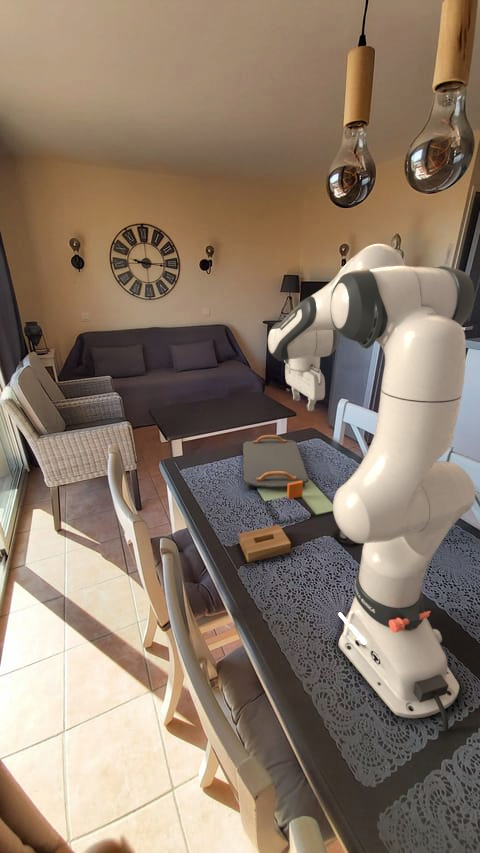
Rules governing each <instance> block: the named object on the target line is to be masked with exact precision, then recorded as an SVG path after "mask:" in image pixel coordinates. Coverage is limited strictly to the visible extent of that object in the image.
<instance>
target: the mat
mask: <svg viewBox="0 0 480 853" xmlns="http://www.w3.org/2000/svg"><path fill="white" fill-rule="evenodd" d="M308 479H309V481H308V482H306V483H305V486H304V487H303V492H302V497H301V498H302V500H303V501H304V502H305V503H306V505H308V507H309V508H310V509H311V510H312V512H313V513H314V514H315V515H316V516H319V515H323V514H328V513H333V502H331V500H330V499H328V497H327V496H326V495H325V494H324V493H323V492H322V491H321V490H320V489H319V488H318V486H316V484H315V483H314V482H313V481H312V480H311V479H310V478H309V477H308ZM287 488H288V487H261V486H259V487H256V490H257V492H258V493H259V495H260V496H261V498H262V499H263V501H264V502H267V501H273V500H277V499H283V498H287Z"/></svg>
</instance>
